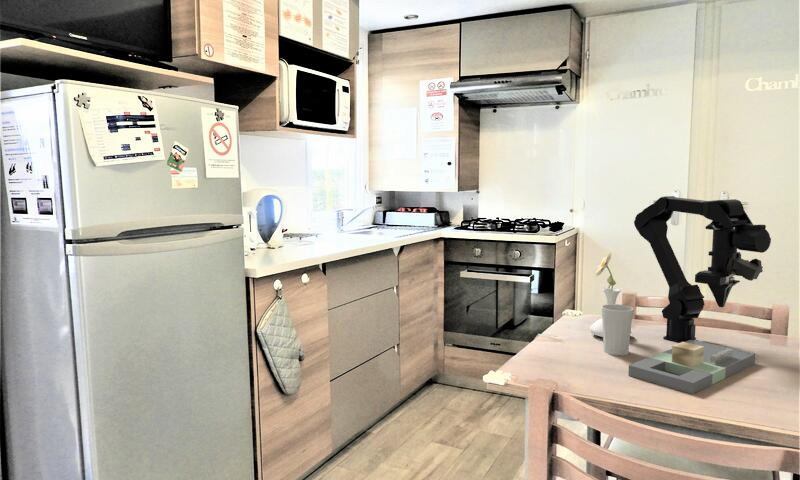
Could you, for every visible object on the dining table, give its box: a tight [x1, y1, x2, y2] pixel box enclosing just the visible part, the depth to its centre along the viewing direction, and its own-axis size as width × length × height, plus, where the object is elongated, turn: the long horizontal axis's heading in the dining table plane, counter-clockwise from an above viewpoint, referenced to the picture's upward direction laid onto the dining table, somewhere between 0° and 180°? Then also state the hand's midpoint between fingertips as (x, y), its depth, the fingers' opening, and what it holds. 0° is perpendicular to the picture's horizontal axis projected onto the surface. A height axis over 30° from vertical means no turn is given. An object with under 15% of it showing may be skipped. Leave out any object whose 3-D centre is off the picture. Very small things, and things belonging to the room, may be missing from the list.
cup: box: [600, 303, 635, 356], centre depth 155 cm, size 8×8×12 cm
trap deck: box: [628, 339, 757, 395], centre depth 142 cm, size 15×32×2 cm, turn 128°
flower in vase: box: [589, 251, 632, 338], centre depth 168 cm, size 13×11×25 cm
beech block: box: [671, 342, 704, 367], centre depth 139 cm, size 5×5×4 cm
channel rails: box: [671, 340, 734, 365], centre depth 144 cm, size 10×9×2 cm
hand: (721, 307), depth 154 cm, fingers closed
